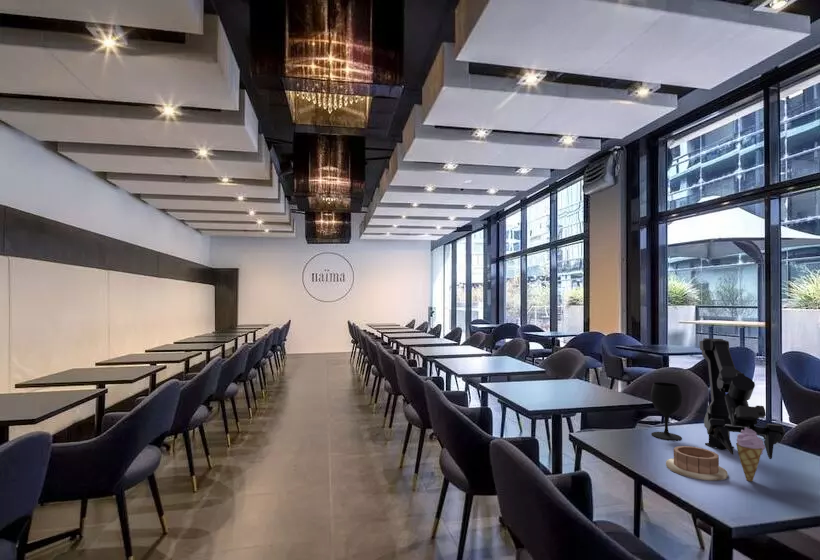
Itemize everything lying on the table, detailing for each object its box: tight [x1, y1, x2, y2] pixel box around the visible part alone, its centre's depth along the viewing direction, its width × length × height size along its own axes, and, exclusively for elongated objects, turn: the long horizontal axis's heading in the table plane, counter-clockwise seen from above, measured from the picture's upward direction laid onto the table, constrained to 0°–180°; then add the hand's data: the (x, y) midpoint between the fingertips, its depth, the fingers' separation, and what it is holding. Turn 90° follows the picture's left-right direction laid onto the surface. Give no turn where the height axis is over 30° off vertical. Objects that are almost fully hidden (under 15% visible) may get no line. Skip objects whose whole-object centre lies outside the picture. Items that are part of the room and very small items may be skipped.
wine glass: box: [650, 381, 683, 442], centre depth 175 cm, size 10×10×20 cm
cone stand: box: [665, 445, 729, 482], centre depth 140 cm, size 16×16×6 cm
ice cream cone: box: [736, 427, 766, 482], centre depth 133 cm, size 7×6×15 cm
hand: (751, 456), depth 132 cm, fingers open, 9 cm apart
